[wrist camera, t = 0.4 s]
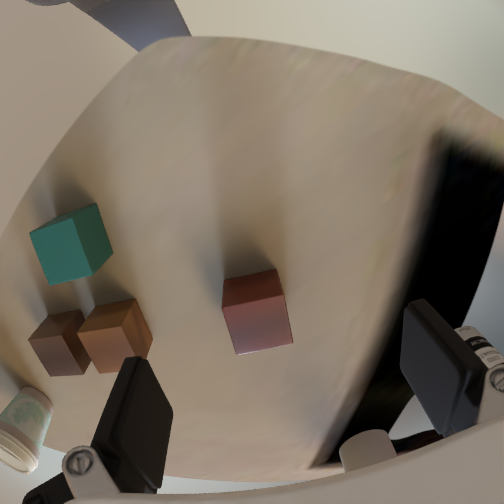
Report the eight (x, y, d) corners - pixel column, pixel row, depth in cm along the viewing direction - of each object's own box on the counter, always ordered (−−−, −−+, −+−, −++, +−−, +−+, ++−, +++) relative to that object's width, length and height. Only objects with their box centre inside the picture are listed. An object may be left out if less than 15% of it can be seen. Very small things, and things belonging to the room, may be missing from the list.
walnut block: (48, 315, 31) (27, 339, 26) (80, 309, 30) (60, 335, 26) (66, 350, 32) (50, 376, 28) (99, 346, 32) (83, 374, 27)
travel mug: (341, 434, 39) (372, 539, 22) (391, 422, 39) (433, 518, 23) (336, 460, 42) (360, 553, 25) (381, 450, 42) (413, 536, 25)
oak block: (95, 306, 30) (76, 332, 26) (135, 298, 30) (120, 325, 25) (113, 344, 32) (99, 373, 27) (153, 339, 32) (142, 369, 27)
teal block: (55, 217, 27) (28, 233, 22) (96, 203, 27) (72, 217, 22) (72, 264, 29) (49, 285, 24) (113, 253, 28) (93, 275, 24)
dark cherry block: (223, 280, 30) (221, 307, 25) (276, 268, 30) (283, 294, 25) (236, 324, 32) (236, 355, 27) (285, 313, 31) (293, 343, 27)
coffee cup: (72, 416, 37) (45, 477, 25) (41, 422, 38) (15, 475, 26) (33, 374, 34) (-5, 434, 23) (6, 384, 35) (-28, 436, 24)
